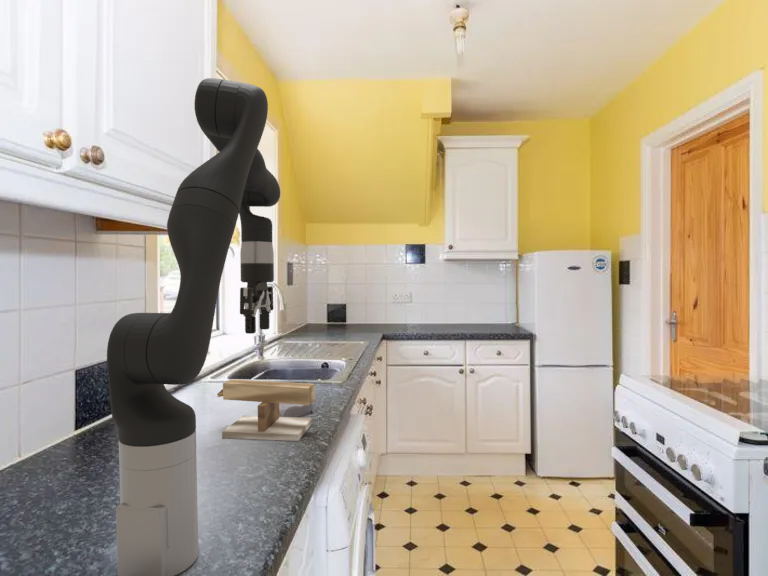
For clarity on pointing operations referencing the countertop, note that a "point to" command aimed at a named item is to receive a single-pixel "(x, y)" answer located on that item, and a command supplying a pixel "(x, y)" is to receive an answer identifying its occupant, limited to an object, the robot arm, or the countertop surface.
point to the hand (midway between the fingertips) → (257, 331)
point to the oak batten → (269, 391)
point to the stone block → (294, 410)
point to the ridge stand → (268, 425)
